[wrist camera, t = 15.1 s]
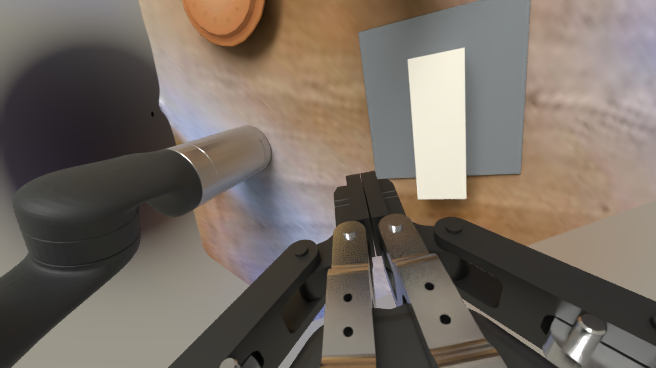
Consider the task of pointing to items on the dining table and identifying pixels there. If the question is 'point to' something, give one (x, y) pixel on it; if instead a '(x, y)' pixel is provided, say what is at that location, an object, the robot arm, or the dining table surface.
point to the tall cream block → (439, 124)
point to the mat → (480, 83)
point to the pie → (224, 19)
